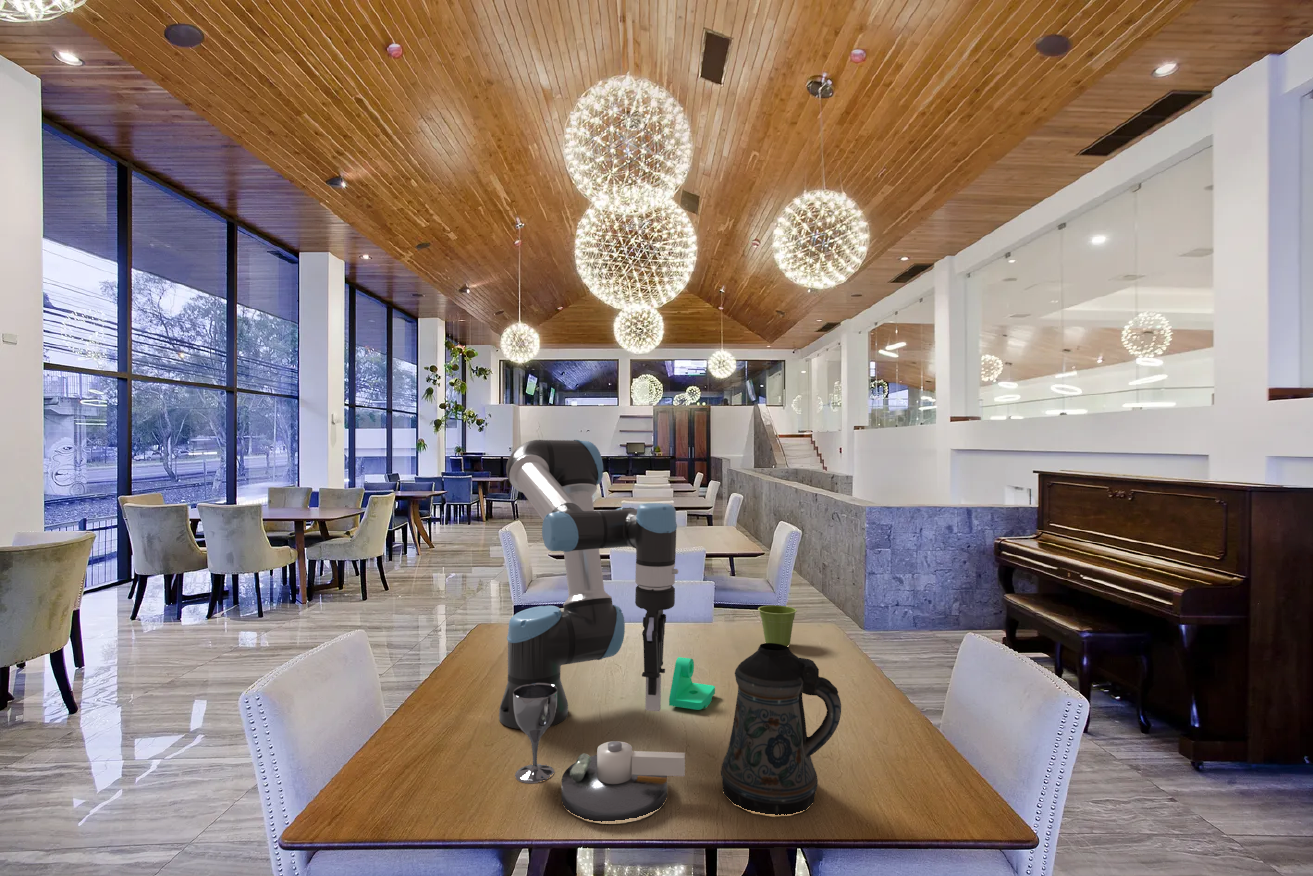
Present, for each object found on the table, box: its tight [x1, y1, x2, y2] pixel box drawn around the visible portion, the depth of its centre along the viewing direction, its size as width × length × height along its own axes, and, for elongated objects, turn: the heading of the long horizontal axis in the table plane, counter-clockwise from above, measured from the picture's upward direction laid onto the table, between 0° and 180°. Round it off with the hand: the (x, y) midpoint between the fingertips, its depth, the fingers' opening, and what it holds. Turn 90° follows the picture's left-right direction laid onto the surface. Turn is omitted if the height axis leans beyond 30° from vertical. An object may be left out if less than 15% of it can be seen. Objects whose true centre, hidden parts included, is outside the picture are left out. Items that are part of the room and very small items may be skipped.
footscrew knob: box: [596, 740, 686, 784], centre depth 109 cm, size 15×6×5 cm, turn 86°
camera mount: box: [668, 656, 716, 710], centre depth 150 cm, size 12×8×10 cm, turn 158°
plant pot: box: [757, 604, 798, 646], centre depth 196 cm, size 12×12×11 cm
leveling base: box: [561, 753, 668, 822], centre depth 109 cm, size 18×18×5 cm
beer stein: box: [720, 642, 842, 815], centre depth 110 cm, size 16×19×25 cm
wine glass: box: [513, 683, 557, 785], centre depth 116 cm, size 8×8×15 cm
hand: (652, 709), depth 121 cm, fingers closed
